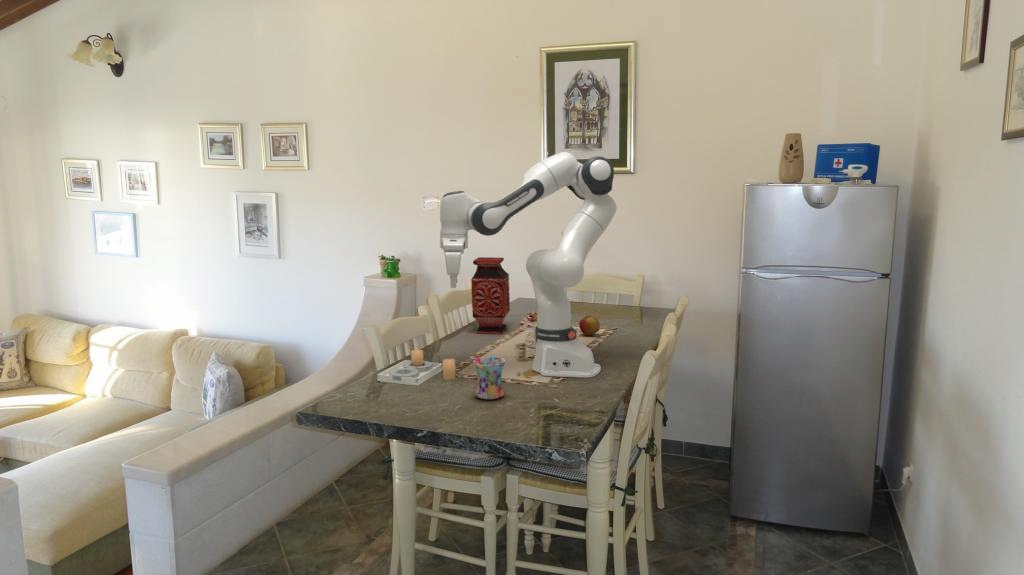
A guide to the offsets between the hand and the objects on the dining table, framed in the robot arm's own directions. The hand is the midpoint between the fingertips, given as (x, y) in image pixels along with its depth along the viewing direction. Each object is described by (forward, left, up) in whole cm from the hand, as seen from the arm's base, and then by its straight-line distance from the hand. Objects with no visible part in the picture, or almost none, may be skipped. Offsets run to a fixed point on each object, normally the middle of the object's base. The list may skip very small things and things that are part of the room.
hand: (453, 285), depth 217 cm
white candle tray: (+11, +10, -28) cm, 32 cm away
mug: (-20, +20, -29) cm, 40 cm away
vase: (+10, -57, -29) cm, 65 cm away
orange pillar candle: (-2, +9, -28) cm, 30 cm away
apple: (-30, -62, -29) cm, 75 cm away
